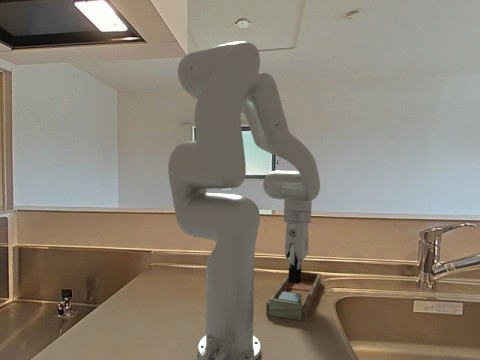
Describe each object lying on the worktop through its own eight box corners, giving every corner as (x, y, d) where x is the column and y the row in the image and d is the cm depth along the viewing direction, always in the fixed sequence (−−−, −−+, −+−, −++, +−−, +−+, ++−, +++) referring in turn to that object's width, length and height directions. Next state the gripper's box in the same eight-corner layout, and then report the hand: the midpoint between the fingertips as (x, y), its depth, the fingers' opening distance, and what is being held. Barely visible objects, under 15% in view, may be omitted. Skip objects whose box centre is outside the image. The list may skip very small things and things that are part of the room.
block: (297, 317, 82) (297, 301, 82) (277, 314, 84) (278, 298, 83) (301, 309, 86) (301, 294, 86) (282, 306, 88) (282, 291, 88)
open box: (304, 321, 79) (304, 305, 79) (266, 314, 83) (266, 298, 83) (320, 283, 105) (320, 270, 105) (290, 278, 108) (291, 267, 108)
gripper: (305, 220, 84) (303, 293, 84) (315, 215, 97) (312, 277, 98) (277, 218, 86) (274, 288, 86) (290, 213, 100) (287, 273, 100)
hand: (294, 282), depth 92 cm, fingers closed
